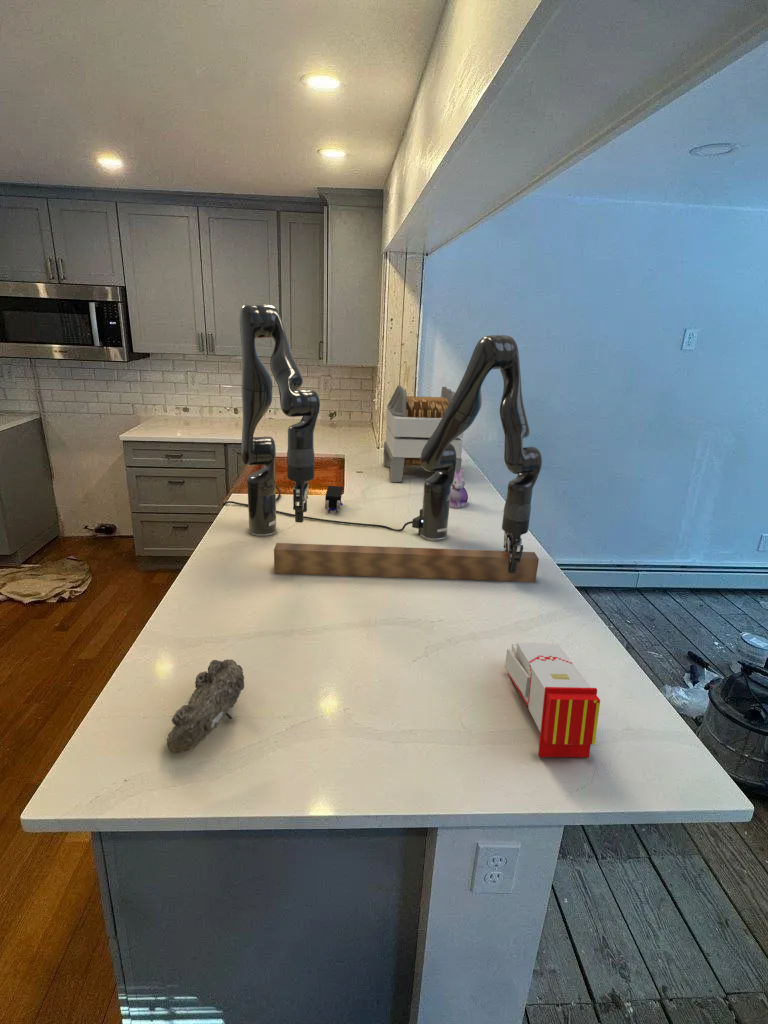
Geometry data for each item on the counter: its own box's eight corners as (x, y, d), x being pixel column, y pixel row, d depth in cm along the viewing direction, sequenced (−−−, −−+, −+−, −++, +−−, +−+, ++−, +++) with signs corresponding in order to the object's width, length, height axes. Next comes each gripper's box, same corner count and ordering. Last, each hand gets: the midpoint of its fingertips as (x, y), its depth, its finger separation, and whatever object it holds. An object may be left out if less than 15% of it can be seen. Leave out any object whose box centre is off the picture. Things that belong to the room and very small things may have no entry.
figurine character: (341, 518, 215) (343, 501, 228) (341, 500, 212) (343, 484, 225) (323, 518, 215) (326, 501, 228) (323, 500, 211) (326, 484, 225)
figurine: (454, 509, 226) (458, 473, 221) (440, 502, 235) (443, 467, 229) (474, 507, 230) (477, 471, 225) (459, 499, 239) (463, 465, 234)
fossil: (192, 660, 117) (244, 628, 112) (224, 691, 120) (276, 661, 115) (142, 746, 98) (202, 712, 93) (182, 779, 101) (242, 748, 96)
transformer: (382, 463, 289) (386, 382, 275) (445, 464, 293) (451, 384, 279) (390, 482, 257) (394, 392, 243) (460, 483, 261) (468, 394, 247)
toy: (553, 625, 127) (610, 695, 97) (548, 680, 129) (601, 765, 100) (500, 624, 126) (540, 694, 97) (495, 679, 129) (533, 764, 100)
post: (531, 574, 173) (534, 551, 171) (535, 582, 168) (538, 558, 166) (277, 566, 171) (276, 542, 169) (274, 573, 167) (273, 549, 164)
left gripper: (291, 455, 164) (291, 508, 170) (283, 468, 151) (284, 525, 157) (316, 456, 165) (316, 509, 170) (311, 469, 151) (311, 526, 157)
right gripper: (498, 506, 170) (492, 558, 176) (509, 523, 157) (502, 579, 163) (523, 507, 171) (516, 559, 176) (535, 524, 157) (528, 579, 163)
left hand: (301, 516), depth 163 cm, fingers open, 8 cm apart
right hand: (509, 568), depth 170 cm, fingers closed on post, 5 cm apart
